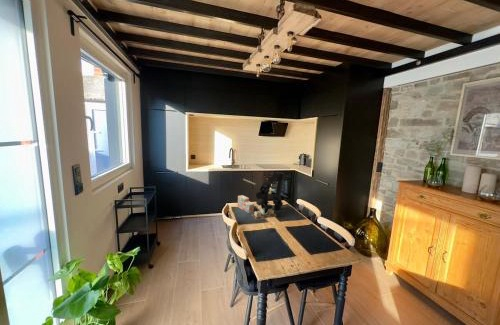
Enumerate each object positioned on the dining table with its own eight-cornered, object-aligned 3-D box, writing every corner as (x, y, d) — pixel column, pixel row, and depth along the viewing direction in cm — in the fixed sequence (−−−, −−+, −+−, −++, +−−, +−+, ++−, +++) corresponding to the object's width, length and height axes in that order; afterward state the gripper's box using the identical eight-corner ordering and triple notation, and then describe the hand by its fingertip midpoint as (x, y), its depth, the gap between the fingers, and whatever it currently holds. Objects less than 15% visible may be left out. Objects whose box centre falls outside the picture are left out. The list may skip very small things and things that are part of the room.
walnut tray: (270, 212, 199) (270, 210, 199) (276, 217, 189) (276, 214, 189) (250, 215, 189) (251, 213, 189) (256, 220, 180) (256, 218, 179)
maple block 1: (258, 215, 189) (258, 210, 188) (260, 217, 185) (261, 212, 184) (254, 216, 187) (254, 211, 186) (256, 217, 183) (256, 213, 182)
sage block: (264, 212, 192) (265, 207, 191) (267, 214, 188) (267, 209, 187) (260, 212, 190) (261, 208, 189) (263, 214, 186) (263, 210, 185)
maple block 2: (270, 213, 195) (271, 208, 194) (273, 215, 191) (273, 210, 191) (266, 213, 193) (267, 209, 192) (269, 215, 189) (269, 211, 189)
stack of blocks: (253, 213, 196) (254, 201, 194) (248, 214, 193) (249, 202, 191) (242, 205, 214) (242, 194, 212) (237, 206, 210) (237, 195, 208)
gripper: (253, 194, 191) (252, 209, 193) (262, 201, 174) (261, 217, 177) (263, 193, 196) (262, 208, 198) (273, 199, 179) (272, 215, 182)
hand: (264, 212), depth 189 cm, fingers closed on sage block, 4 cm apart
